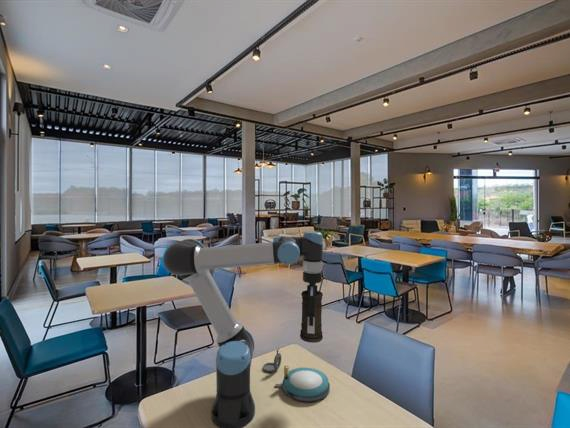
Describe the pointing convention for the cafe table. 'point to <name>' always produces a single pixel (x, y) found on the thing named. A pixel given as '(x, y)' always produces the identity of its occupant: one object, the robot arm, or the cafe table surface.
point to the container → (318, 310)
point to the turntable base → (303, 399)
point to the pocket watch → (273, 366)
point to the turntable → (305, 382)
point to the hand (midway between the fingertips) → (311, 328)
